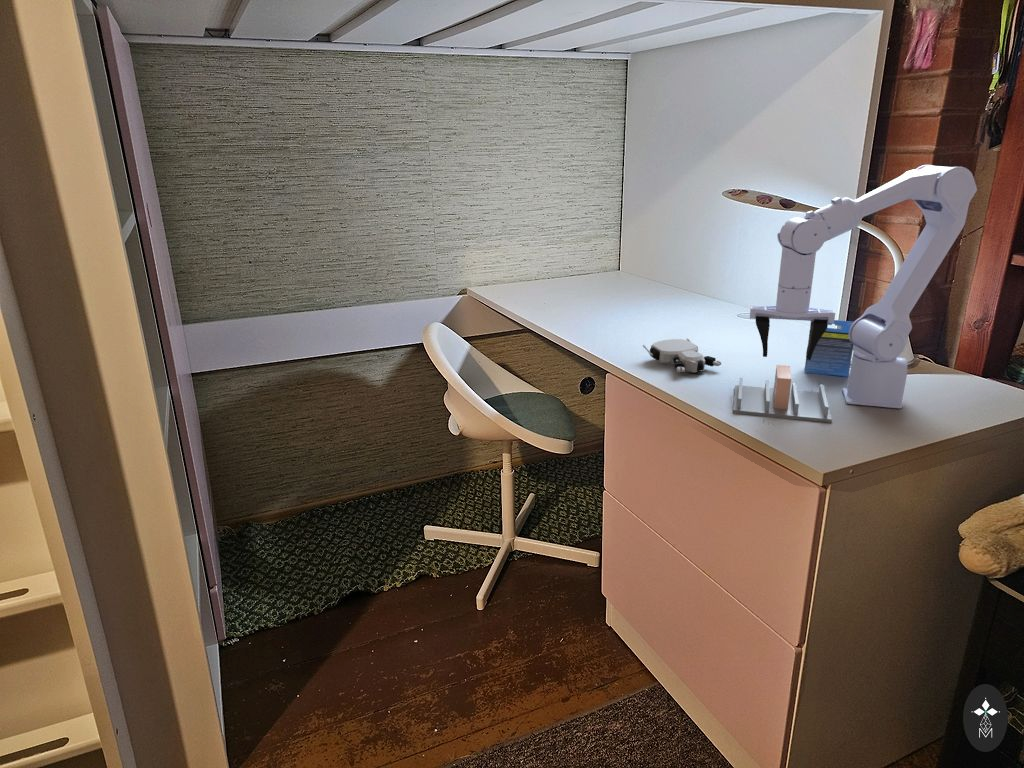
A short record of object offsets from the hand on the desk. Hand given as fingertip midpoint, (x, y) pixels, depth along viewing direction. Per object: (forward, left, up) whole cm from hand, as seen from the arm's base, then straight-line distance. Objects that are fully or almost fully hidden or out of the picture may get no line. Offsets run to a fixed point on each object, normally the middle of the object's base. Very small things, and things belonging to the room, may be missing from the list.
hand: (786, 356), depth 130 cm
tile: (0, +1, -9) cm, 9 cm away
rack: (0, +1, -9) cm, 9 cm away
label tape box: (-10, -21, -10) cm, 25 cm away
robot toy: (+21, -18, -10) cm, 29 cm away
